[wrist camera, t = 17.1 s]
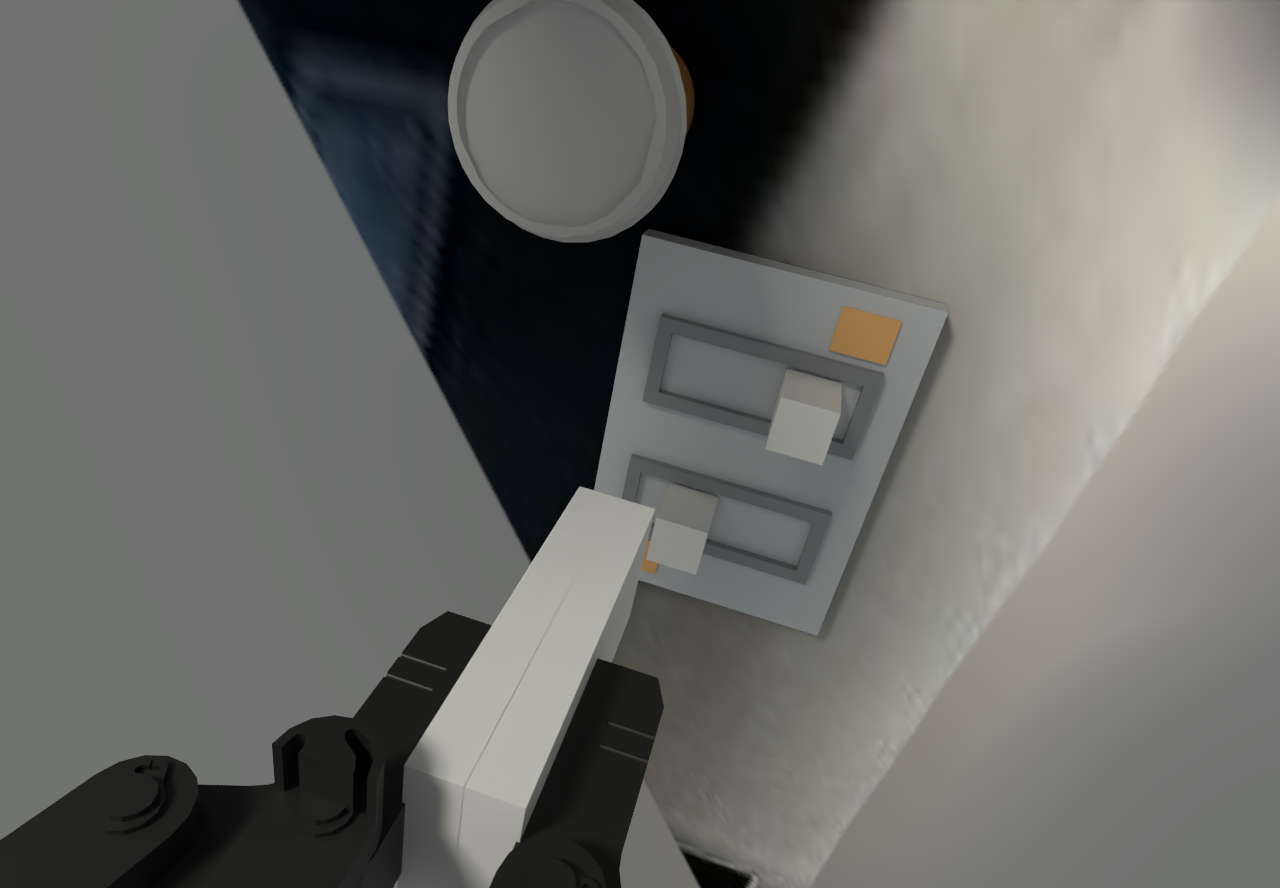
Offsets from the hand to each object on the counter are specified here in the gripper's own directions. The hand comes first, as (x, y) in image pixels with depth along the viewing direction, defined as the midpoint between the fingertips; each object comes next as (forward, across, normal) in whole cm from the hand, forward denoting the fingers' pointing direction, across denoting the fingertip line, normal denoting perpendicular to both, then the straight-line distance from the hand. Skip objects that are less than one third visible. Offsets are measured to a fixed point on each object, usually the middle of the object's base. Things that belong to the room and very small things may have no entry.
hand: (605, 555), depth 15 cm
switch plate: (+29, +2, -12) cm, 32 cm away
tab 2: (+28, +5, -7) cm, 29 cm away
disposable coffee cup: (+30, -8, +5) cm, 31 cm away
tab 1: (+28, 0, -16) cm, 32 cm away
